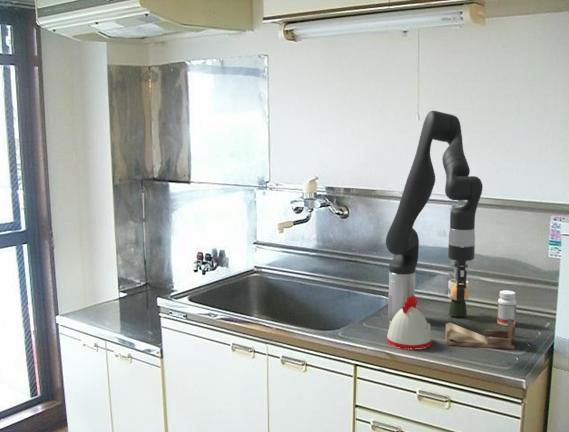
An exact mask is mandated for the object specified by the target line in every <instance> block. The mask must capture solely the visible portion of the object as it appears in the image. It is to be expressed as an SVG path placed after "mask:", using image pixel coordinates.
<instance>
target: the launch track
mask: <svg viewBox="0 0 569 432" xmlns="http://www.w3.org/2000/svg"><path fill="white" fill-rule="evenodd" d="M515 340H516V326H515V325H514V324H513V322H512V320H511V319H508V326H507V329H506V330H503V329H501V330H500V329H484V335H482V334H480V333H477V332H475V331H473V330H470V329H467V328H465V327H462V326H459V325H457V324H454V323H452V322H448V323H445V342H446V345H447V346H453V345H455V346H458V347H469V348H470V347H471V348H473V347H476V348H490V349H508V350H509V349H510V350H515Z"/></svg>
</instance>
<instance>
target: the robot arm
mask: <svg viewBox="0 0 569 432" xmlns="http://www.w3.org/2000/svg"><path fill="white" fill-rule="evenodd" d="M422 124H423V125H422V128H421V132H420V136H419V139H418V140H419V141H418V145H417V147H416V152H415V156H414V159H413V162H412V164H411V167H410V170H409V173H408V176H407V179H406V182H405V185H404V189H403V191H402V195H401V198H400V201H399V203H398V208H397V210H396V214H395V215H394V218H393V221H392V223H391V225H390V227H389V229H388V232H387V234H386V238H385V245H386V248H387V250H388V252H389V253H391V254H392V255H393V258H392V261H391V262H390V263H389V267H388V273H389V274H388V301H387V303H388V309H387V311H388V314H387V315H388V316H387V317H388V318H387V319H388V321H390V320H391V321H392V320H393V318H394V316H395V315H396V313H397V312H398V311H400V310H401V309H402V307H405V302H407V297H408V298H410V297H412V296H415V297H416V268H417V265H418V262H419V248H420V241H419V240H420V239H419V235H418V232H417V231H416V230H415V229H414V228H413V227H414V224H415V222H416V220H417V218H418V216H419V215H420V213H421V212H422V211H423V209H424V208H425V206H426V205H427V203H428V202H429V200H430V197H431V195H432V193H433V190H434V186H435V183H436V173H435V170H434V166H433V161H432V158H431V147H432V142H433V141H438V142H443V143H447V144H448V147H446V149H445V151H444V152H443V154H442V165H443V169H444V171H445V188H444V192H445V195H446V197H447V198H448V199H450V200H452V201H466V203H465V204H464V205H463V206H460V207H455V208H453V209H451V210H450V216H449V217H450V219H449V222H450V225H449V233H448V251H447V252H448V254H447V256H448V259H450V260H453V261H454V263H453V270H454V271H453V272H454V273H453V277H454V279H455V283H456V284H457V286H456V288H457V301H461V302H463V301H465V300H464V294H465V289H466V281H468V272H469V266H468V264H466V262H470V261H473V260H474V259H475V249H476V248H475V246H476V234H475V233H476V232H475V222H476V220H475V219H476V213H477V208H478V205H479V202H480V199H481V197H482V193H483V183H482V180H481V179H480V178H479V177H478V176H473V175H470V166H469V164H468V161H467V158H466V156H465V151H464V145H463V135H462V126H461V122H460V120H459V118H458V117H457V115H453V114H450V113H446V112H443V111H442V112H441V111H437V110H430V111H429V112H428V113H427V114H426V116H425V118H424V120H423V123H422ZM459 283H462V284H463V285H462V284H459Z"/></svg>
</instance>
